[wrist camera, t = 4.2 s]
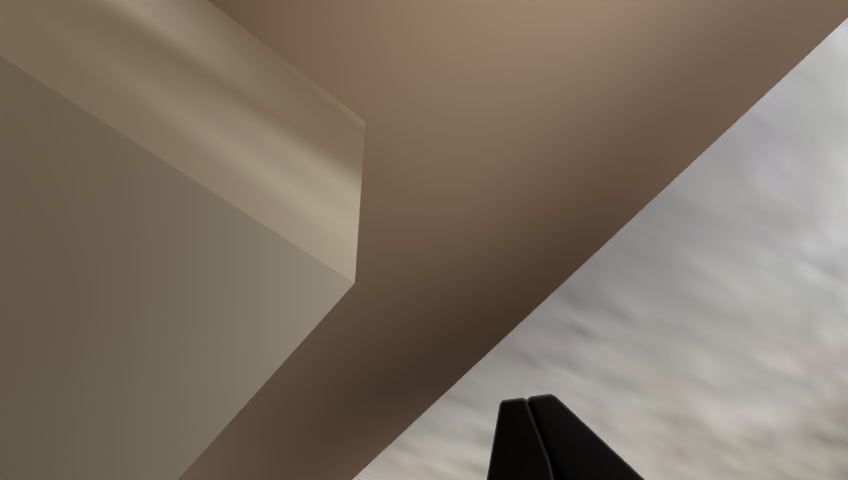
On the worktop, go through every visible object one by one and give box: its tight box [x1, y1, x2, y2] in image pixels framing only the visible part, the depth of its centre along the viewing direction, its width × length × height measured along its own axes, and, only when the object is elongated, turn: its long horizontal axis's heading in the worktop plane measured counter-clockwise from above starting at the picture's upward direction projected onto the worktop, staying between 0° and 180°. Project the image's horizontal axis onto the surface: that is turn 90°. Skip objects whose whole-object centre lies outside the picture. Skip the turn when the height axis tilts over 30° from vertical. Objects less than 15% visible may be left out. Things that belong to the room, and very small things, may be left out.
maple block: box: [0, 0, 365, 480], centre depth 6 cm, size 4×4×4 cm
